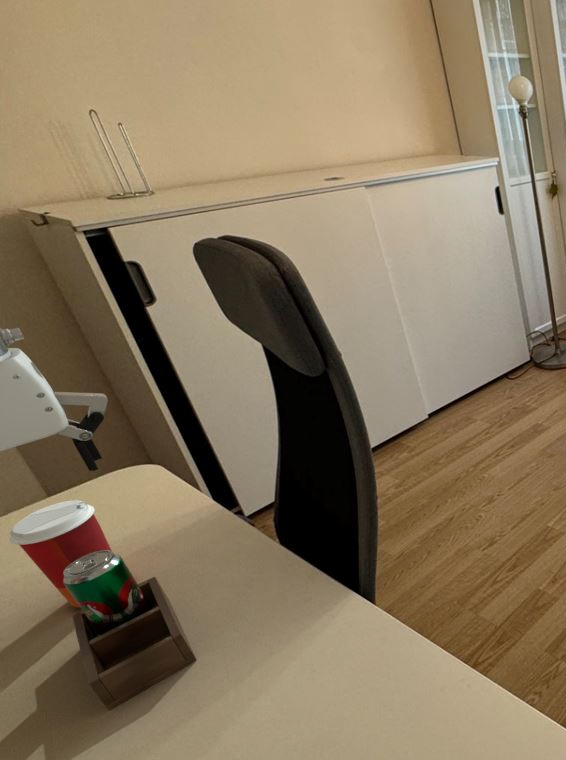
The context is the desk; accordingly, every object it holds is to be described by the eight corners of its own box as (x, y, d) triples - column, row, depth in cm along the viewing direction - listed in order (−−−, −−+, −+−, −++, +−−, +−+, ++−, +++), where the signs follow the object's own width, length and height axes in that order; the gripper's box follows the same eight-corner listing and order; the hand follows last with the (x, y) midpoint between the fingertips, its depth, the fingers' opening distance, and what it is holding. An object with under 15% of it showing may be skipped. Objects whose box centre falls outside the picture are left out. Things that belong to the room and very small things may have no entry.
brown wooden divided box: (108, 711, 65) (88, 684, 63) (89, 641, 73) (71, 615, 71) (197, 660, 70) (181, 634, 68) (169, 601, 79) (154, 576, 77)
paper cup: (135, 563, 86) (91, 490, 80) (135, 591, 80) (88, 515, 75) (61, 592, 81) (8, 517, 75) (56, 624, 76) (-1, 546, 70)
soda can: (153, 608, 76) (112, 541, 72) (163, 626, 74) (121, 558, 69) (102, 634, 73) (55, 566, 68) (110, 654, 70) (61, 585, 65)
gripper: (65, 320, 65) (129, 442, 72) (-199, 373, 53) (-90, 514, 60) (75, 335, 61) (142, 462, 68) (-210, 397, 49) (-92, 545, 56)
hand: (33, 486), depth 64 cm, fingers open, 9 cm apart
